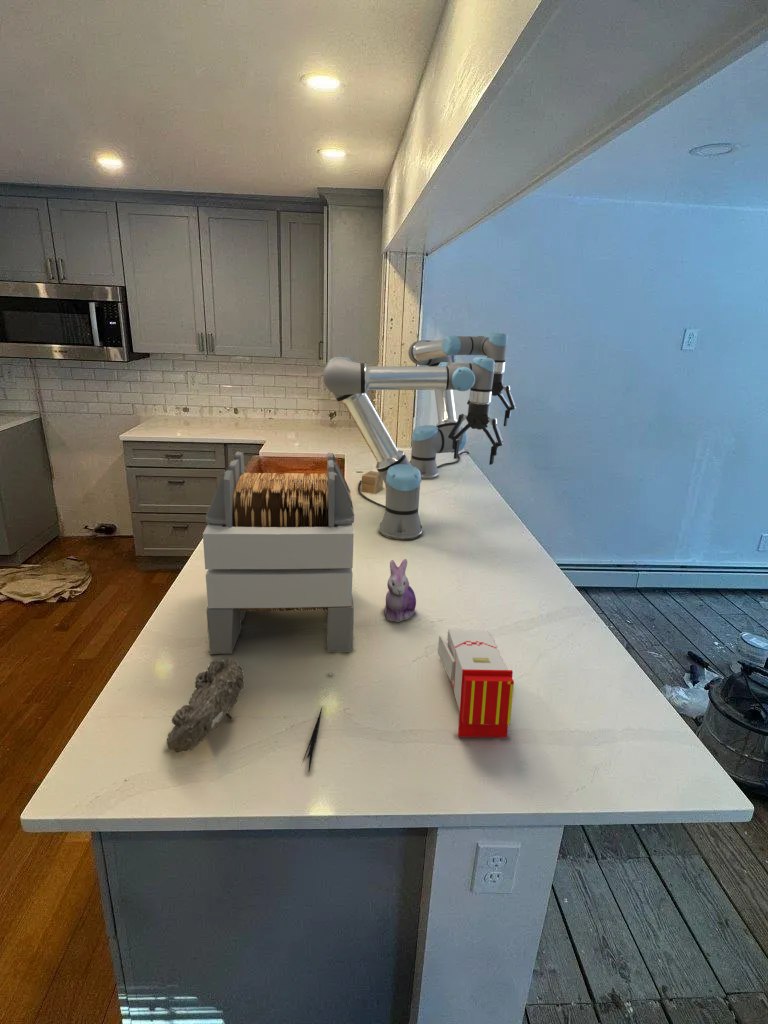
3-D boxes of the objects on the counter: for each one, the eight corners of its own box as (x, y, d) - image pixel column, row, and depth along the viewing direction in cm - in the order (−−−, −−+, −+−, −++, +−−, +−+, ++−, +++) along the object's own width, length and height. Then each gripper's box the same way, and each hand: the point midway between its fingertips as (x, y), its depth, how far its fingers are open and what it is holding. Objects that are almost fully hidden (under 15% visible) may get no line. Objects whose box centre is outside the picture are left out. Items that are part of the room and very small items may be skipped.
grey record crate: (229, 585, 158) (221, 442, 144) (346, 584, 161) (350, 444, 148) (206, 656, 126) (193, 481, 112) (353, 652, 130) (358, 483, 116)
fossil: (192, 660, 117) (244, 628, 112) (224, 691, 120) (276, 661, 115) (142, 746, 98) (202, 712, 93) (182, 779, 101) (242, 748, 96)
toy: (488, 613, 130) (523, 677, 101) (484, 667, 133) (517, 744, 104) (435, 612, 130) (455, 676, 101) (432, 666, 133) (451, 743, 103)
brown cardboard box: (374, 493, 242) (374, 477, 239) (361, 491, 244) (361, 475, 242) (382, 488, 249) (383, 473, 247) (369, 486, 251) (370, 470, 249)
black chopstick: (331, 679, 122) (336, 673, 122) (307, 777, 96) (313, 769, 95) (324, 675, 122) (329, 669, 121) (298, 772, 95) (304, 764, 95)
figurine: (392, 627, 141) (395, 572, 136) (374, 608, 149) (376, 556, 144) (425, 619, 145) (429, 566, 140) (405, 601, 154) (408, 550, 149)
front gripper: (517, 405, 199) (509, 464, 206) (450, 397, 209) (445, 453, 216) (511, 408, 192) (503, 468, 200) (442, 399, 203) (437, 457, 210)
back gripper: (527, 374, 231) (520, 425, 238) (467, 369, 240) (463, 419, 248) (523, 375, 225) (516, 428, 232) (462, 370, 234) (458, 421, 241)
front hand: (473, 461), depth 208 cm, fingers open, 13 cm apart
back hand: (489, 423), depth 240 cm, fingers open, 13 cm apart
